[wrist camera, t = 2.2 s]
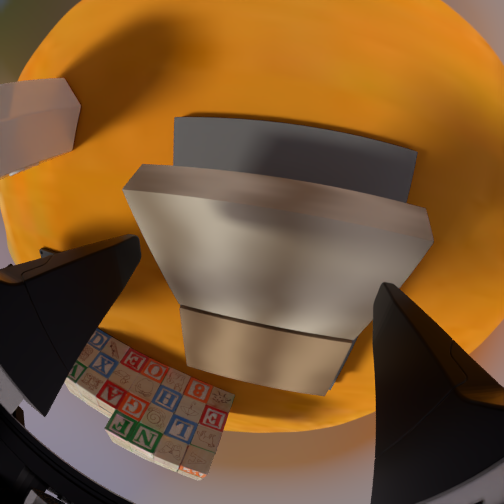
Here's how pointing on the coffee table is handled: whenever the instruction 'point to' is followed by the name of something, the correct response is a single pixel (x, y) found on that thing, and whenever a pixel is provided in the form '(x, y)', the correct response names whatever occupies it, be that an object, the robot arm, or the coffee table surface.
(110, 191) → the coffee table surface
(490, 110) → the coffee table surface
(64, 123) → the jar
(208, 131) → the underlay mat
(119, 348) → the stack of blocks
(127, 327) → the coffee table surface
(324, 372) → the oak board
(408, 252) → the ash plank
